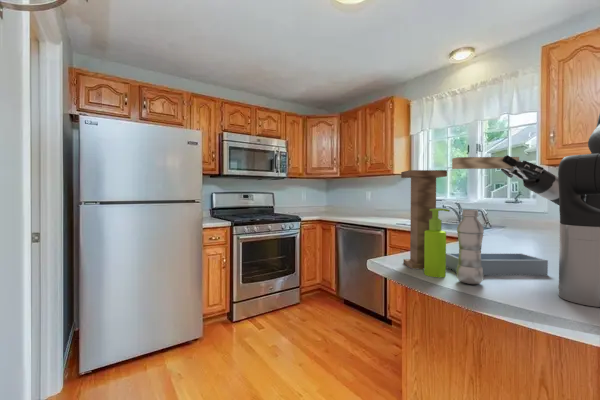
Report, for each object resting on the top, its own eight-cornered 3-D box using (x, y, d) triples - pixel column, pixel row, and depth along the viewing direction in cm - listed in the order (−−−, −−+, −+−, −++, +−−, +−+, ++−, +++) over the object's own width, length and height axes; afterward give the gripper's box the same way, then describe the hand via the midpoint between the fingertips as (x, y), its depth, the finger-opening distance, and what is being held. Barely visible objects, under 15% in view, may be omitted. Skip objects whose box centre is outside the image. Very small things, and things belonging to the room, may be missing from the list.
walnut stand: (434, 263, 104) (435, 172, 103) (446, 269, 96) (447, 170, 95) (400, 263, 104) (401, 172, 103) (409, 269, 96) (409, 170, 95)
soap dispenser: (452, 277, 86) (453, 208, 85) (429, 277, 86) (429, 208, 86) (443, 272, 92) (444, 208, 91) (421, 272, 92) (421, 207, 91)
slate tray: (521, 266, 99) (521, 253, 99) (547, 275, 88) (547, 260, 88) (444, 266, 99) (444, 253, 99) (462, 275, 88) (462, 260, 88)
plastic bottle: (456, 284, 79) (456, 210, 79) (456, 278, 85) (456, 209, 85) (484, 288, 76) (485, 210, 76) (482, 281, 82) (483, 209, 82)
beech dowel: (511, 168, 99) (511, 158, 99) (519, 167, 96) (519, 156, 96) (452, 168, 99) (452, 158, 99) (457, 168, 96) (457, 157, 96)
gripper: (533, 175, 105) (491, 151, 105) (570, 172, 91) (522, 145, 90) (523, 194, 105) (481, 170, 105) (557, 194, 91) (509, 166, 91)
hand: (500, 158), depth 98 cm, fingers closed on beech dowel, 3 cm apart
